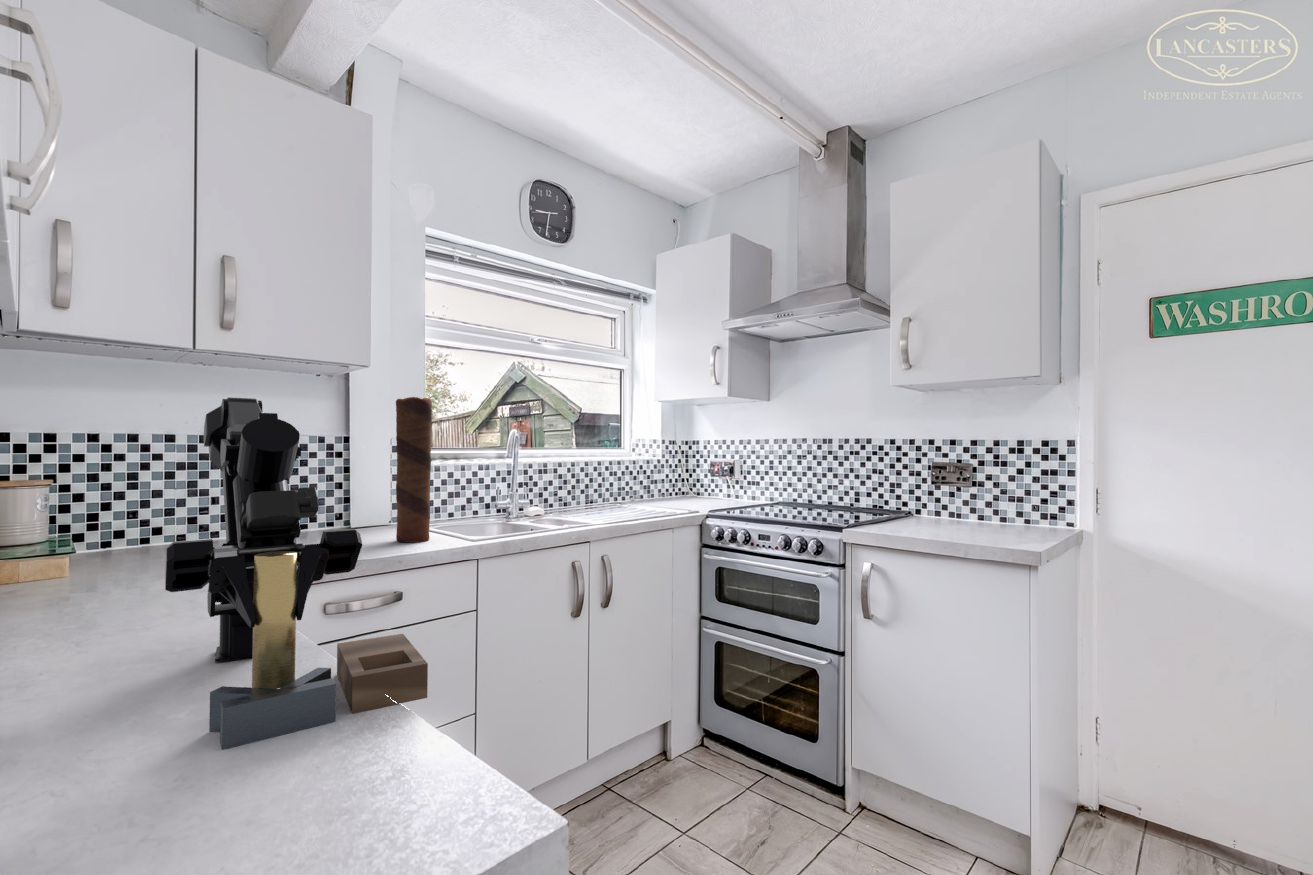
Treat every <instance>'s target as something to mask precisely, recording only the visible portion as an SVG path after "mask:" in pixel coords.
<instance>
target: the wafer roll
mask: <svg viewBox="0 0 1313 875" xmlns="http://www.w3.org/2000/svg"><path fill="white" fill-rule="evenodd" d="M432 405H433V403H432V399H431V398H429V397H424V398H421V397H418V396H417V397H416V396H409V397H405V398H397V399H396V400H395V413H396V414H395V419H396V420H395V422H396V425H395V427H396V428H395V432H396V433H395V434H396V437H395V439H396V450H395V451H396V462H397V464H396V465H397V466H396V476H395V477H396V478H395V479H396V484H395V491H396V493H395V495H396V496H395V497H396V498H395V500H396V533H395V534H396V538H395V539H396V542H402V543H422V542H423V543H424V542H427V541H428V542H429V540H430V522H431V521H430V520H431V513H430V512H431V506H430V505H431V504H430V503H431V501H430V500H431V474H432V472H431V470H432V458H431V457H432V455H431V454H432V453H431V452H432V422H433V421H432V415H433V409H432V408H433V406H432Z"/></svg>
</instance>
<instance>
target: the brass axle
mask: <svg viewBox="0 0 1313 875" xmlns="http://www.w3.org/2000/svg"><path fill="white" fill-rule="evenodd" d="M297 568H298V566H297V552H292V551H278V552H267V553H261V554H257V555H255V556H254V594H253V604H254V609H255V627H253V652H252V657H251V658H252V660H251V663H252V664H251V688H269V689H280V688H282V687H283V686H285V685H287V684H289V683H291V682H292V681H294V680H296V646H297V645H296V642H297V640H296V636H297V633H296V632H297V622H296V621H297V618H296V585H297Z"/></svg>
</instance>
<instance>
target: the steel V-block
mask: <svg viewBox="0 0 1313 875" xmlns="http://www.w3.org/2000/svg"><path fill="white" fill-rule="evenodd" d="M336 711H337V682H335V680H334V679H333V678H332V668H331V667H316V668H315V669H312V670H311V671H309V672H307V673H306V674H304V675H301V676H300V677H298V678H297V679H296V678H295V680H294V681H292V682H291V683H289V684H287V685H285V686H283V687H282V688H278V689H269V688H252V687H245V686H243V687H242V686H225V685H224V686H220V687H218V688H215V689H214V690H212V691H210V692H209V722H208V723H209V728H208V730H209V732H214V733H216V732H217V733H220V734H219V738H220V740H219V742H220V747H221V750H225V749H226V750H227V749H230V748H234V747H238V746H242V745H247V744H251V743H254V742H257V741H261V740H266V739H270V738H275V737H277V736H278V737H279V736H282V735H287V734H291V733H294V732H299V731H302V730H307V729H311V728H315V727H319V726H323V725H326V724H330V723H335V722H337V721H336V720H337V716H336V715H337V712H336Z"/></svg>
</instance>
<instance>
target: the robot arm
mask: <svg viewBox="0 0 1313 875" xmlns="http://www.w3.org/2000/svg"><path fill="white" fill-rule="evenodd" d="M299 442H300V432H299V430H297V428H296V427H295V426H294V425H292V423H289V422H288V421H285V420H282V419H279V417H278V413H275V412H265V411H264V410H263V401H262V400H260V399H258V398H248V397H247V398H246V397H231V396H230V397H227V398H222V400H221V404H220V405H219V407H217V408H215V409H213V410H211V411H209V412H208V413H206V414H205V419H204V425H203V448H204V447H208V453H209V454H208V455H209V456H208V457H209V461H210V462H211V463H212V464H213V465H214V466H215V467H217V468H218V469H219V470H220V471H221V472H222V473H221V474H222V485H223V486H222V489H223V503H224V504H223V505H224V506H223V508H224V520H225V521H224V522H225V525H224V526H225V539H226V540H225V542H226V543H222V545H221V546H214V540H213V539H212V538H208V539H195V540H182V541H181V540H180V541H173V542H171V543H170V544H169V545H168V546H167V547H166V550H165V551H166V552H165V568H164V569H165V571H164V573H165V582H164V583H165V586H164V587H165V591H167V592H170V593H177V592H184V591H185V592H186V591H195V590H202V589H203V588H204V587H205V586H207V585H208V587H207V597H206V598H207V612H208V615H209V617H210V618H212V617H213V618H214V617H215V616H219V646H216V650H215V655H214V656H215V658H214V662H215V663H220V662H226V661H232V660H233V661H234V660H241V659H246V658H252V652H253V627H255V609H254V604H253V594H254V556H255V555H257V554H261V553H267V552H278V551H292V552H297V585H296V621H302V618H303V614H304V611H305V605H306V602H307V599H308V598H307V597H308V594H309V592H310V590H311V587H312V584H313V583H314V582H318V581H321V580H322V579H323V578H324V575H325V576H329V575H336V574H337V575H338V574H343V573H345V574H346V573H350V572H352V571H354V570H355V568H356V566H357V563H358V559H359V557H360V553H361V550H362V546H363V541H362V536H361V533H360V532H359V531H358V530H356V529H355V528H347V529H346V528H345V529H344V528H343V529H332V530H323V531H322V534H321V538H320V542H319V543H311V544H305V543H297V540H296V539H299V538H300V537H301V536H300V535H301V532H302V530H301V524H300V521H302V520H301V519H303V518H304V519H306V518H307V519H308V518H315V517H316V515H317V514H318V512H319V507H320V506H319V505H320V504H319V497H318V492H317V488H316V487H315V486H313V487H311V486H310V487H298V489H297V490H289V485H288V481H289V480H290V478H291V477H292V475H293V471H294V466H295V463H296V461H297V460H298V458H299V457H301V456H302V447H301V446H299ZM216 603H219V604H216Z"/></svg>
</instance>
